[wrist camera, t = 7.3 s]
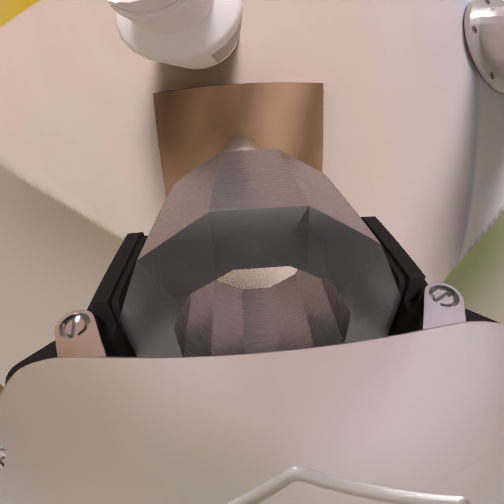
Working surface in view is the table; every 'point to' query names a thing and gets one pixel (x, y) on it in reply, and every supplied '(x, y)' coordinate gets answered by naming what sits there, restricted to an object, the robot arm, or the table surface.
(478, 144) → the table surface
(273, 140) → the walnut base
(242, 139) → the steel shaft
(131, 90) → the table surface
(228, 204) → the ring
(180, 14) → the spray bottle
